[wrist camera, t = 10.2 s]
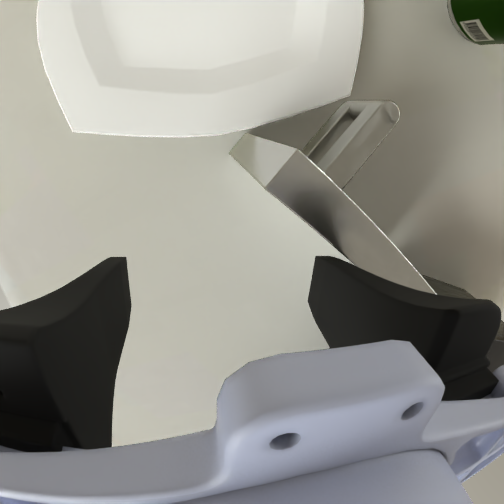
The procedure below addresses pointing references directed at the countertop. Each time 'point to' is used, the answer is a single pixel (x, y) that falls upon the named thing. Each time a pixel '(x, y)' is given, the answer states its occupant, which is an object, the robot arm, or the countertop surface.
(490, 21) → the beer can
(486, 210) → the countertop surface
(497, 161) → the countertop surface
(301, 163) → the microwave door
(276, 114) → the plate
